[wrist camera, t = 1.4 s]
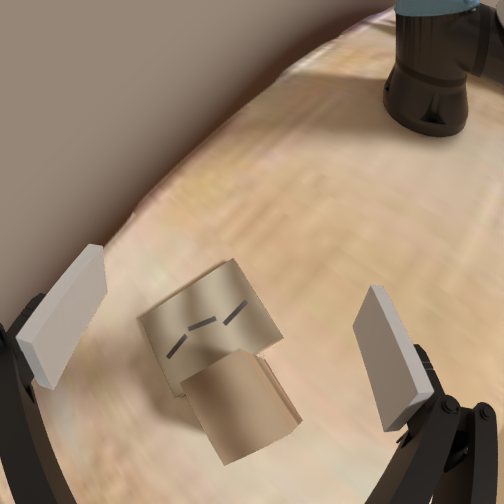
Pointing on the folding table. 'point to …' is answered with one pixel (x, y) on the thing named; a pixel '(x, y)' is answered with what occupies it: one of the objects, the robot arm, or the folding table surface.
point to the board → (208, 324)
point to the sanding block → (240, 405)
